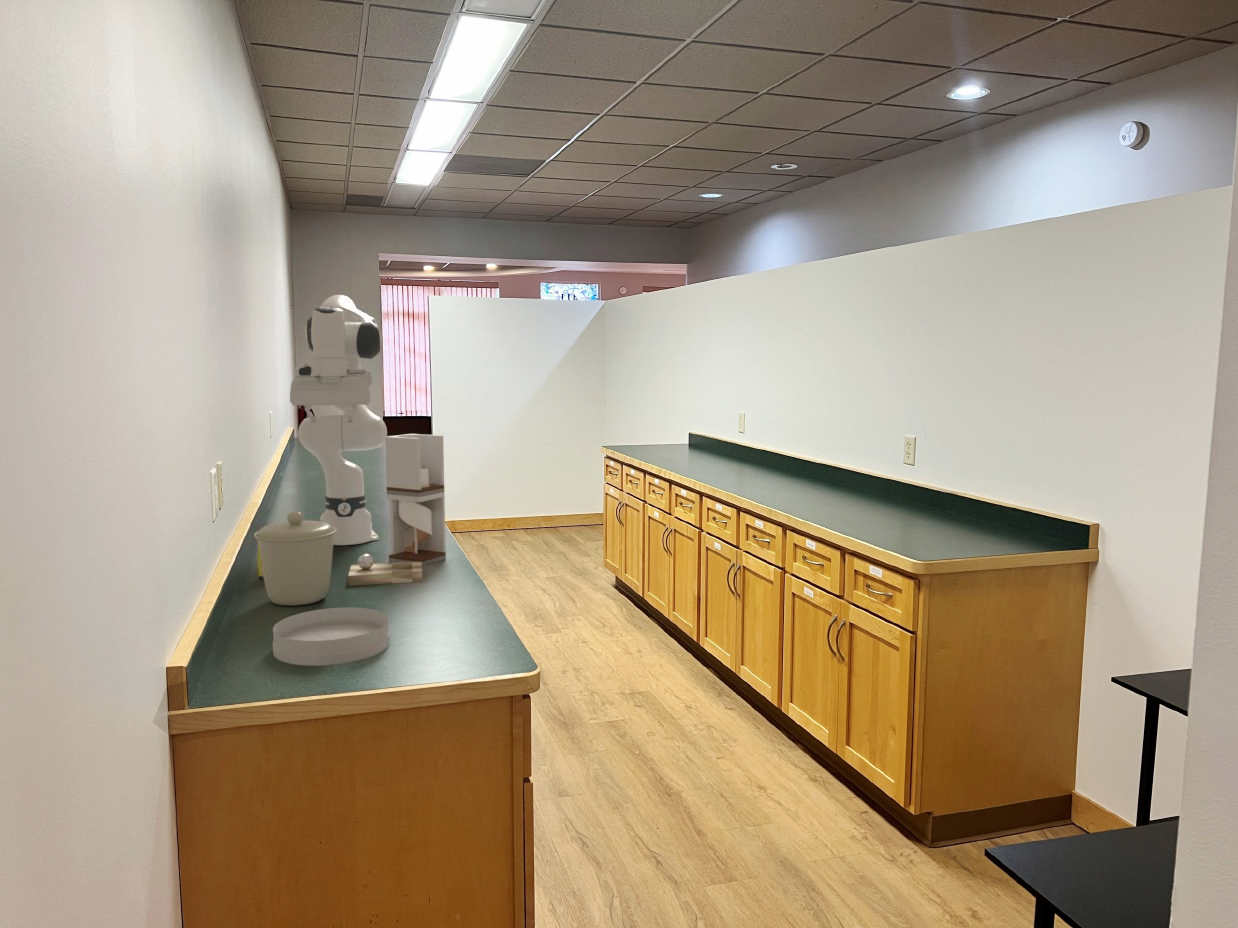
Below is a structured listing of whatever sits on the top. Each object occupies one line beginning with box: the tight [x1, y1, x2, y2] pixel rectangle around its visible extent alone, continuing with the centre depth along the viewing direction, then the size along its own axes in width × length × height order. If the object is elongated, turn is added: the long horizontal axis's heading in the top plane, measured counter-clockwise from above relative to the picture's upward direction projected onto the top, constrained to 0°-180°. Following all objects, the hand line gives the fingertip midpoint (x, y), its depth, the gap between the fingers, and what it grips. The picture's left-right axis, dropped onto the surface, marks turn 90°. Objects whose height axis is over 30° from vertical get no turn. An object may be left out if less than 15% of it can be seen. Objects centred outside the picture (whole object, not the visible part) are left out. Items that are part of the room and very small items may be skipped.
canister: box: [253, 511, 337, 607], centre depth 205 cm, size 18×18×21 cm
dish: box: [272, 607, 391, 667], centre depth 174 cm, size 22×22×5 cm
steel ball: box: [357, 553, 375, 570], centre depth 226 cm, size 4×4×4 cm
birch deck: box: [347, 561, 423, 587], centre depth 227 cm, size 12×18×2 cm, turn 103°
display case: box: [384, 433, 447, 567], centre depth 245 cm, size 11×11×35 cm
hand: (332, 422), depth 231 cm, fingers open, 8 cm apart
